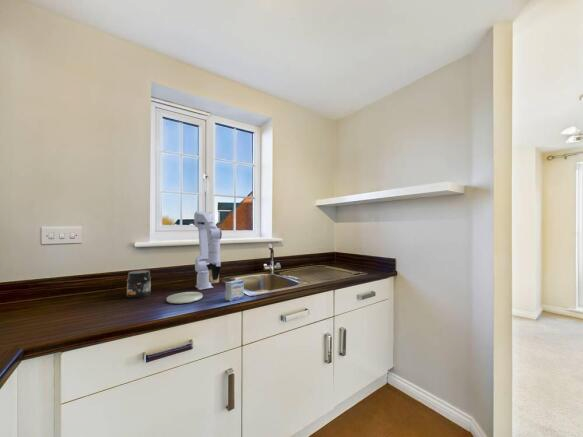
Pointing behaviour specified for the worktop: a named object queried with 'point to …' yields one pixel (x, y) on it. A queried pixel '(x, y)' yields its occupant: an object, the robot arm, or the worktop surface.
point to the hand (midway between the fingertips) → (213, 278)
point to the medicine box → (234, 290)
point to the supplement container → (138, 284)
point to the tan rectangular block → (212, 278)
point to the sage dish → (184, 297)
